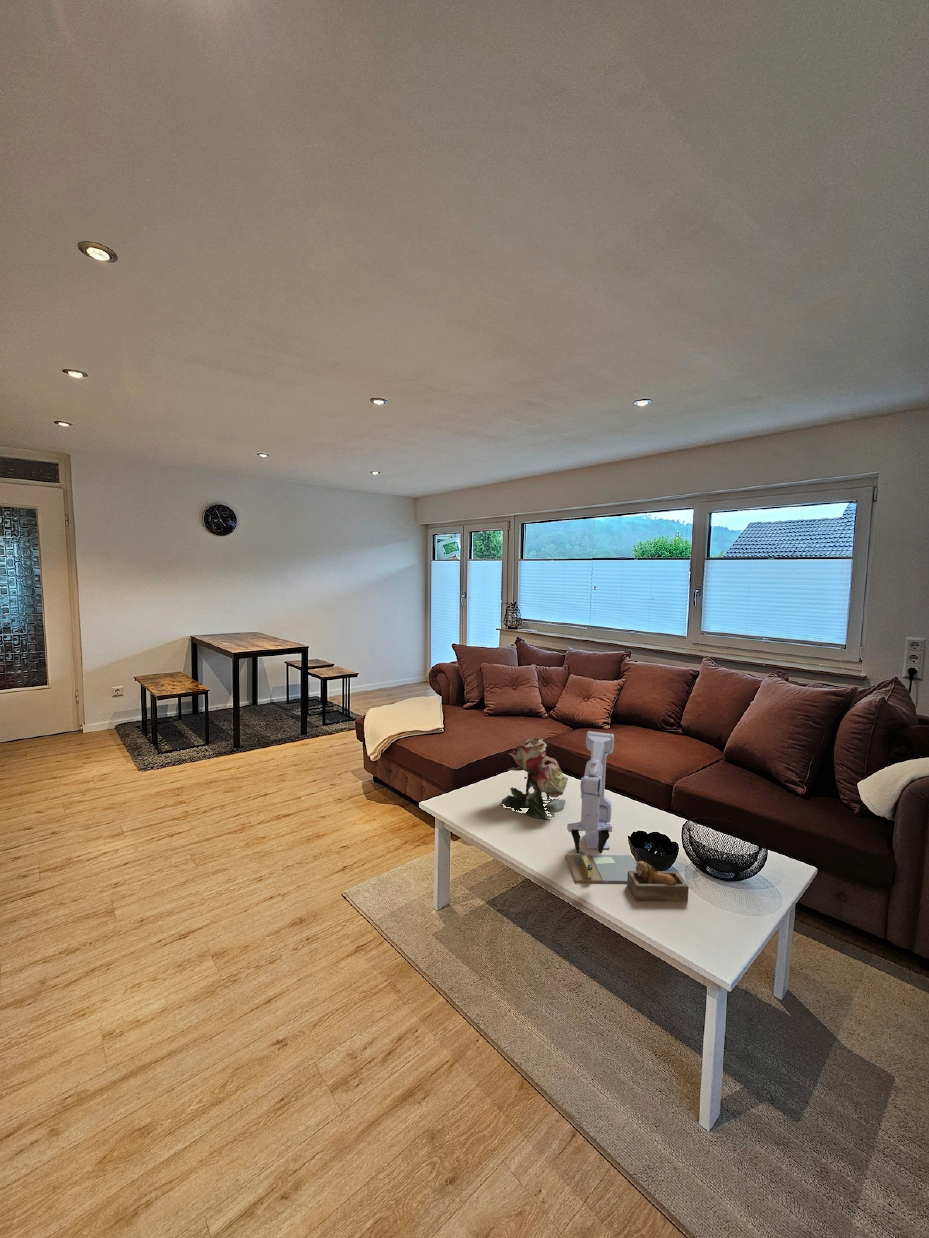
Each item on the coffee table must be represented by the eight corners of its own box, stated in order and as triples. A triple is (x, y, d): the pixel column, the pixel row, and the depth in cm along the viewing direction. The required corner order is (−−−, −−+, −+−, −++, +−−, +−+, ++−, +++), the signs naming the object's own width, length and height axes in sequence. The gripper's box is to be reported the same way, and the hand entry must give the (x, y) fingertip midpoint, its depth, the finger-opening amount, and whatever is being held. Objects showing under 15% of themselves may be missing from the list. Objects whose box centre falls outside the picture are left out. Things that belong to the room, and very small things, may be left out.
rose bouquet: (559, 824, 211) (561, 753, 209) (495, 807, 226) (497, 741, 223) (578, 801, 233) (580, 737, 231) (519, 787, 248) (521, 727, 246)
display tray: (627, 885, 169) (627, 870, 169) (676, 885, 169) (677, 871, 169) (636, 901, 161) (636, 885, 160) (687, 901, 161) (688, 886, 161)
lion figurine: (633, 890, 166) (635, 864, 165) (635, 882, 171) (636, 856, 170) (683, 903, 160) (684, 875, 159) (683, 894, 165) (684, 867, 164)
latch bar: (580, 861, 180) (581, 852, 180) (585, 861, 180) (586, 852, 180) (587, 877, 170) (588, 867, 170) (593, 877, 171) (593, 867, 170)
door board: (565, 856, 186) (565, 844, 186) (630, 857, 187) (631, 845, 186) (575, 882, 170) (576, 869, 170) (647, 883, 171) (647, 870, 170)
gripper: (571, 817, 166) (570, 858, 167) (615, 817, 166) (614, 858, 167) (566, 808, 173) (565, 846, 174) (608, 808, 173) (607, 846, 174)
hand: (588, 851), depth 171 cm, fingers open, 7 cm apart
